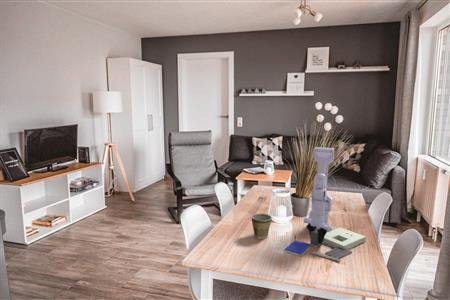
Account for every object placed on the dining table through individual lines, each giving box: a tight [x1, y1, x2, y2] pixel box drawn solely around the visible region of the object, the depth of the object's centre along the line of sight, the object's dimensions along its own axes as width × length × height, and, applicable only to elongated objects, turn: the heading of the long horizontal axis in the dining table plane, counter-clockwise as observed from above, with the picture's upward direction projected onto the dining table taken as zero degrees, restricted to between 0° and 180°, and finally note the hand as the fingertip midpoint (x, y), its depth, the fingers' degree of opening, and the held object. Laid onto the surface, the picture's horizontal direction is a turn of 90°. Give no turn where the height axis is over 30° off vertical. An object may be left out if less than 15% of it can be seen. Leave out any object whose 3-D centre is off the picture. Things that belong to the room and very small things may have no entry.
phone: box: [324, 247, 352, 260], centre depth 142 cm, size 6×11×1 cm, turn 126°
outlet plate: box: [323, 227, 367, 250], centre depth 156 cm, size 14×18×3 cm
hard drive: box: [283, 239, 312, 257], centre depth 147 cm, size 2×8×12 cm
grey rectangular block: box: [309, 229, 324, 248], centre depth 152 cm, size 4×4×6 cm
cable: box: [311, 251, 341, 263], centre depth 139 cm, size 12×1×1 cm, turn 51°
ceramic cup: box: [251, 213, 273, 240], centre depth 161 cm, size 13×10×10 cm
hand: (316, 241), depth 152 cm, fingers closed on grey rectangular block, 4 cm apart
